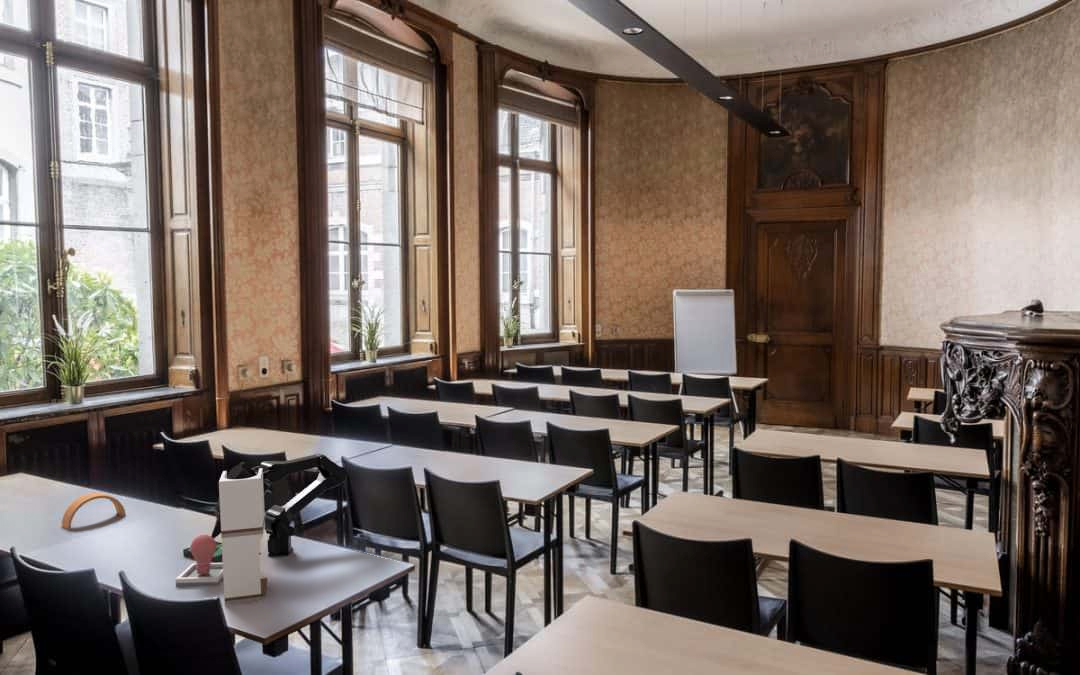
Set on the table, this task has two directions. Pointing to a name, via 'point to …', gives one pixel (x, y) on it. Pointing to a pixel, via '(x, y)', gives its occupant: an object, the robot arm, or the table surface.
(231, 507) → the tall white pillar
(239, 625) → the table surface
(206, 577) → the white square frame
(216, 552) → the disk drive
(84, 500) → the arch
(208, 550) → the light bulb
